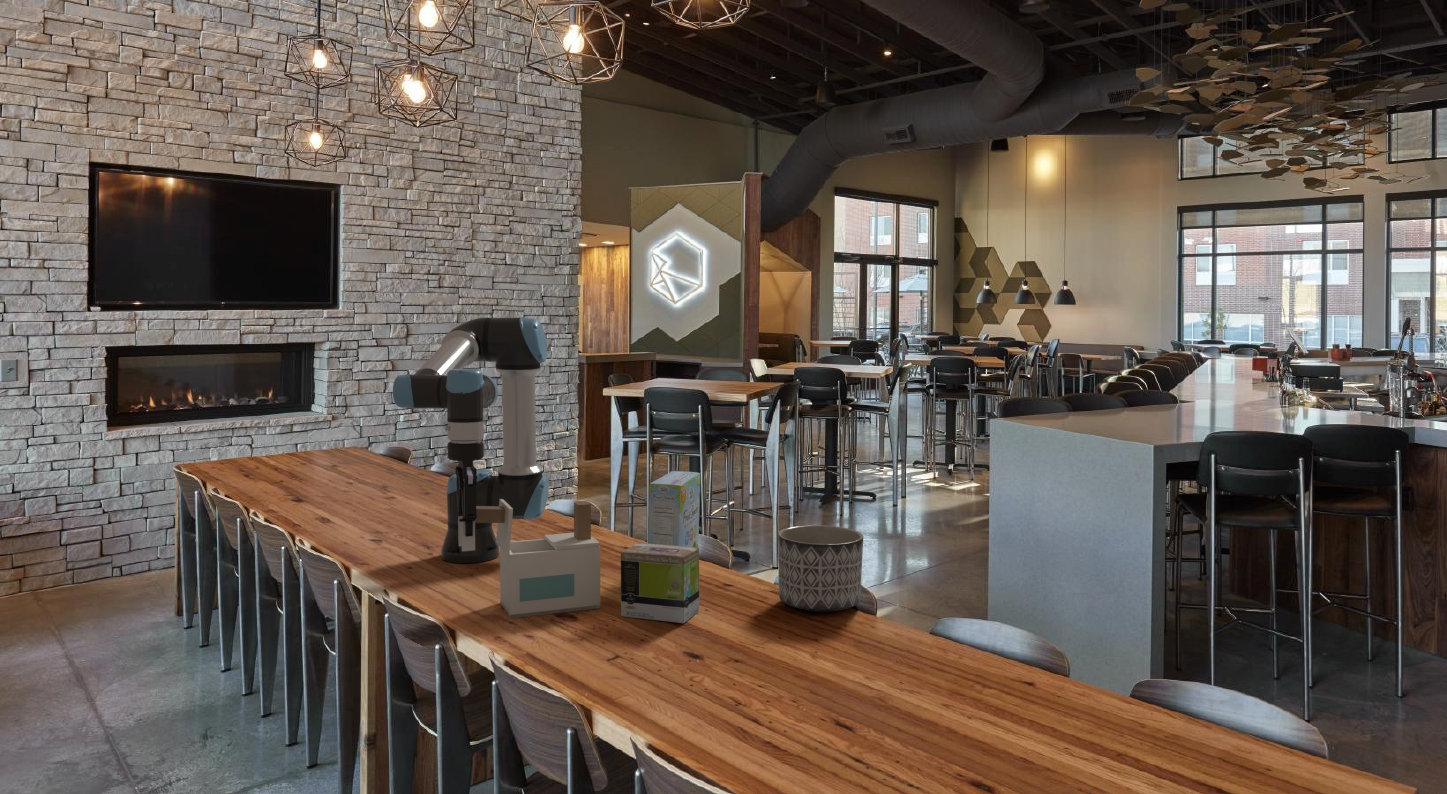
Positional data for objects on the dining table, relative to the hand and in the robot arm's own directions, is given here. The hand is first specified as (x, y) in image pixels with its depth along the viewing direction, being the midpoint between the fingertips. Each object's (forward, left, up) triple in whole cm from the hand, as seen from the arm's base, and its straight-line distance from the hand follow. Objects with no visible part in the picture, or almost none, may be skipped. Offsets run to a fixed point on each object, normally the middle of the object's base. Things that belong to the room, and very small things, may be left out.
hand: (466, 547), depth 203 cm
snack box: (-11, +52, -15) cm, 55 cm away
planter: (+22, +75, -15) cm, 80 cm away
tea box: (+15, +39, -15) cm, 45 cm away
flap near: (0, +8, +4) cm, 9 cm away
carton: (0, +18, -15) cm, 23 cm away
